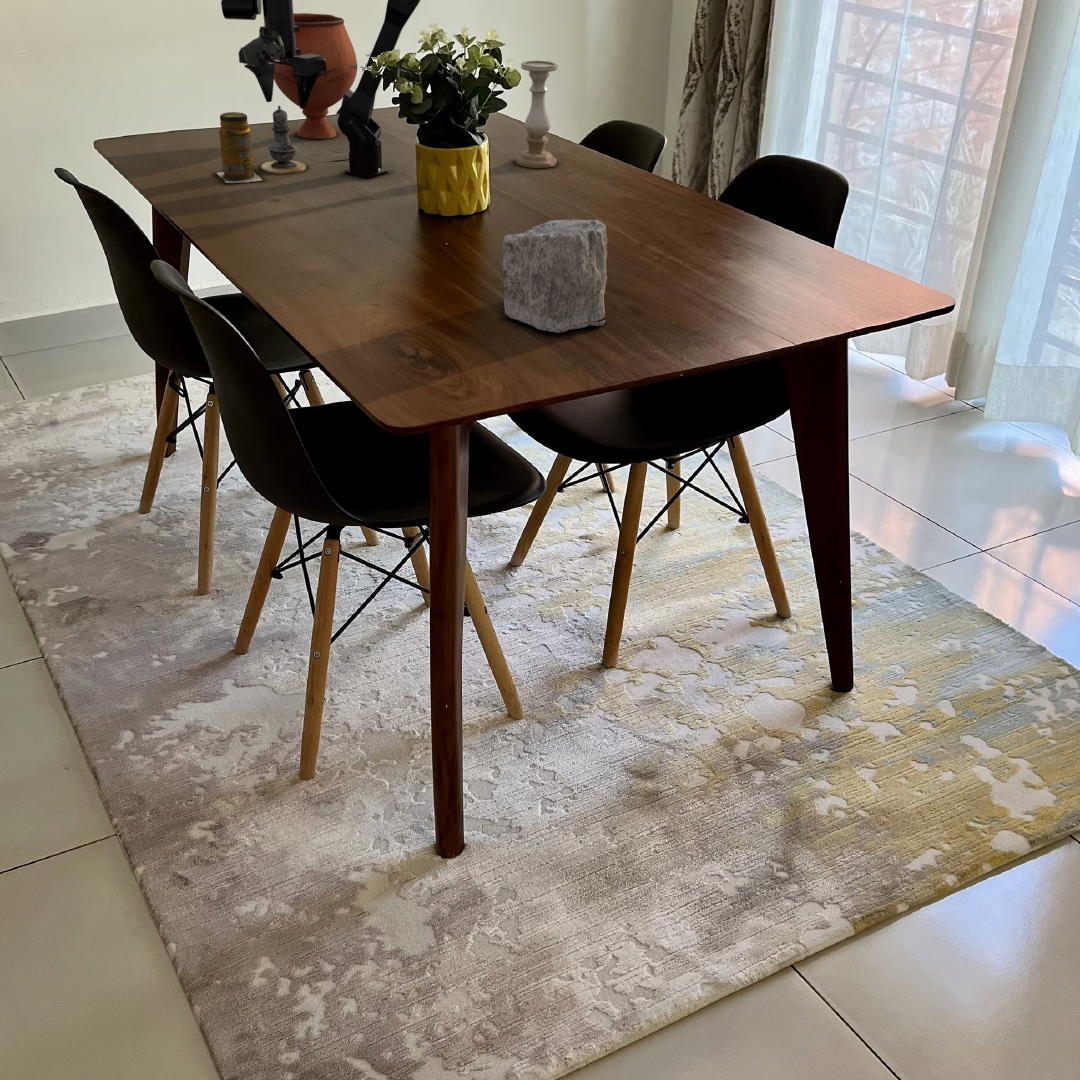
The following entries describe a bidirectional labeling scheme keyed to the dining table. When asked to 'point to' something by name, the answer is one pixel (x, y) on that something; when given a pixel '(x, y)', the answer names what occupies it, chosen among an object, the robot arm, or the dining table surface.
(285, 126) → the grey carved stone piece
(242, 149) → the condiment
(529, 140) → the candle holder
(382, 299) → the dining table surface
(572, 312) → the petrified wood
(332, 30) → the goblet
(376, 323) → the dining table surface
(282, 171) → the coaster
